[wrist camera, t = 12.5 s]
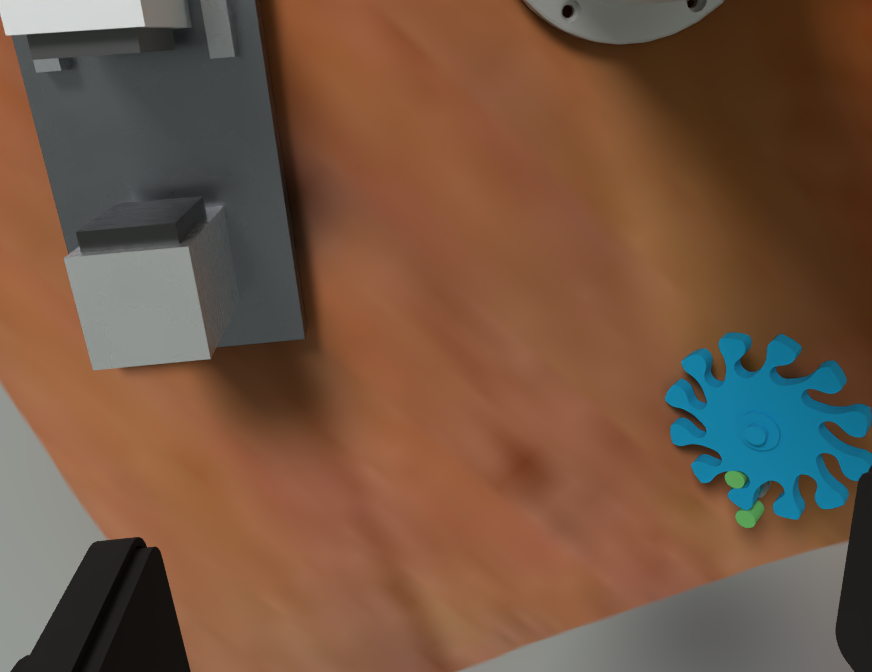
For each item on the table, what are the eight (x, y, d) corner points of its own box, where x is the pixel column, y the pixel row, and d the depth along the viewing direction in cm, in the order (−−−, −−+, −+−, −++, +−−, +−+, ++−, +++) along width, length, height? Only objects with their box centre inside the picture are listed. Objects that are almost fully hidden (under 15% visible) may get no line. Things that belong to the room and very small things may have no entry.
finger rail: (236, -159, 31) (189, -224, 23) (307, 327, 39) (290, 403, 31) (-18, -142, 30) (-155, -202, 23) (105, 347, 38) (36, 428, 30)
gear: (677, 312, 38) (898, 388, 33) (725, 276, 42) (930, 337, 36) (643, 485, 44) (827, 576, 38) (688, 439, 48) (861, 514, 42)
